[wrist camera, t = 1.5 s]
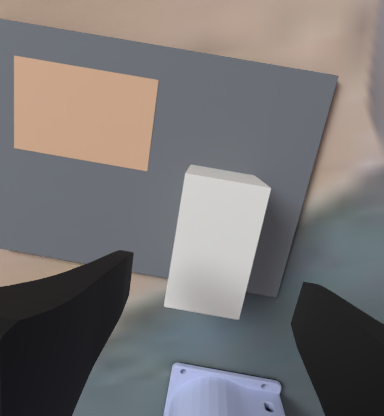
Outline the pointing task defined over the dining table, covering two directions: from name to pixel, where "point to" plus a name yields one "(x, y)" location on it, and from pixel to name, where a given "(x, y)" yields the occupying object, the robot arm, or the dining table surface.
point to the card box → (215, 241)
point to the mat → (144, 144)
